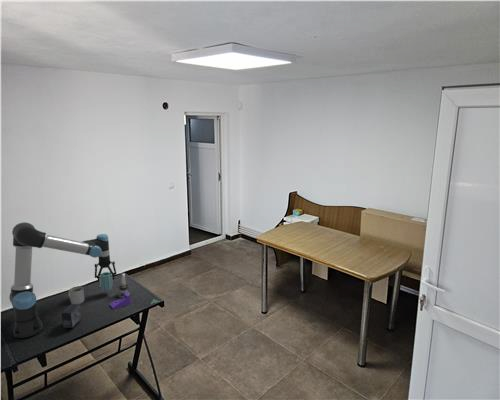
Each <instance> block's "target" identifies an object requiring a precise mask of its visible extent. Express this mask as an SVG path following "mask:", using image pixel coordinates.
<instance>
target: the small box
mask: <svg viewBox="0 0 500 400" xmlns="http://www.w3.org/2000/svg"><path fill="white" fill-rule="evenodd" d="M61 320H62V328H63V329H73V328H74V327H75V326H76V325H77V324H79V322H80V321H81V320H82V316H81V306H80V304H71V303H70V305H68V306H67V307H66V308H65V309H64V310H63V311H62V312H61Z"/></svg>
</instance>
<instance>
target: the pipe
mask: <svg viewBox="0 0 500 400" xmlns="http://www.w3.org/2000/svg"><path fill="white" fill-rule="evenodd" d="M120 285H121V287H126V273H125V272H121V273H120ZM119 291H120V293H121V296H124V293H127V292H128V289H127V290H119Z"/></svg>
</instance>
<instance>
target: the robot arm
mask: <svg viewBox="0 0 500 400" xmlns="http://www.w3.org/2000/svg"><path fill="white" fill-rule="evenodd" d="M11 232H12V233H11V234H12V237H13V238H12V246H13V247H14V248H15V258H14V261H15V263H14V279H13V280H14V281H13V283H14V284H13V285H11V287H10V293H9V301H10V303H11V306H12V308H13V314H14V319H15V321H14V322H15V323H14V326H13V331H12V332H13V336H14V338H16V339H17V338H19V339H24V338H29V337H32V336H35V335H37V334H38V333H40V332H41V331H43V330H42V329H43V328H44V327H43V325H44V324H43V322H42V320H41V318H40V317H39V312H38V304H37V296H36V294H35V293H34V284H33V283H31V279H32V257H33V248H37V249H41V248H48V249H54V250H58V251H64V252H69V253H75V254H81V255H85V256H89V257H91V258H95V259H96V258H98V263H94V278H95V279H97V283H99V287H100V288H101V279H100V274H101V273H102V271H103V269H106V268H107V269H108V272H111V279H112V286H113V285H114V282H113V281H114V280H115V275H117V270H116V265H115V264H116V262H115V260H113V261H111V256H110V255H111V254H110V244H109V242H110V241H109V236H108V234H106V233H104V234H103V233H100V234H97V235H96V238H92V239H87V240H82V241H78V240H74V239H68V238H64V237H59V236H54V235H49V234H47V233H46V232H43V231H42V230H41V231H40V230H38V229H36V228H35V226H34V225H33V224H31V223H29V222H24V221H23V222H19V223H17V224H15V225H14V226H13V228H12V231H11ZM110 265H112V268H113V270H112V268H111V266H110ZM98 267H100V268H99V271H98ZM97 273H98V274H97Z"/></svg>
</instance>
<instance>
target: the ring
mask: <svg viewBox="0 0 500 400" xmlns="http://www.w3.org/2000/svg"><path fill="white" fill-rule="evenodd" d="M118 288H119V289H118V290H119V291H120V290H127V291H128V289H129V285H128V284H126V287H121V284H120V285H119V286H118Z"/></svg>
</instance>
